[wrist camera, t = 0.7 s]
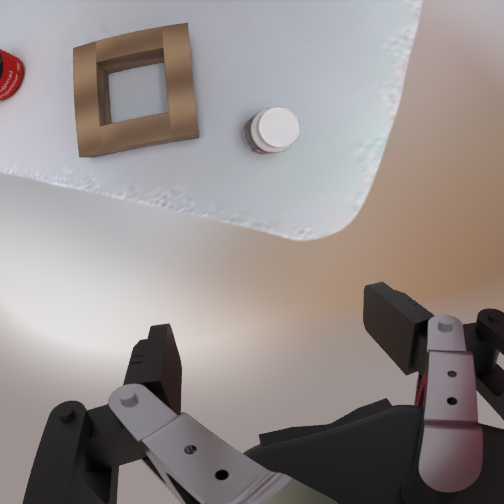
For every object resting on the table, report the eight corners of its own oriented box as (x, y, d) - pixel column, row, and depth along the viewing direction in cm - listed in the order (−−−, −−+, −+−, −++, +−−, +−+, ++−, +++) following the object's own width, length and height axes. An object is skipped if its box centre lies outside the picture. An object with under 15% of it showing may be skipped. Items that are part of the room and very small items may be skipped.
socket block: (87, 60, 30) (73, 48, 25) (188, 38, 32) (187, 22, 27) (93, 157, 34) (79, 157, 29) (198, 137, 35) (198, 133, 31)
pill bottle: (251, 159, 37) (265, 159, 29) (236, 123, 36) (247, 112, 28) (287, 146, 37) (310, 143, 29) (273, 110, 36) (293, 97, 28)
